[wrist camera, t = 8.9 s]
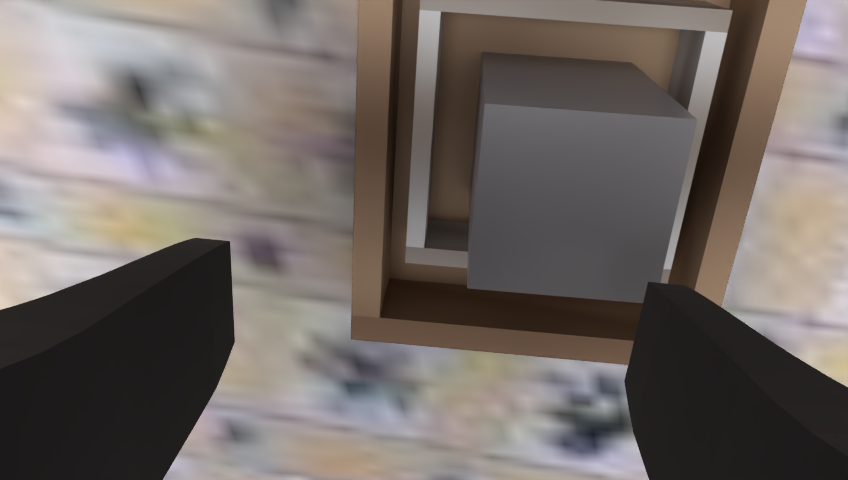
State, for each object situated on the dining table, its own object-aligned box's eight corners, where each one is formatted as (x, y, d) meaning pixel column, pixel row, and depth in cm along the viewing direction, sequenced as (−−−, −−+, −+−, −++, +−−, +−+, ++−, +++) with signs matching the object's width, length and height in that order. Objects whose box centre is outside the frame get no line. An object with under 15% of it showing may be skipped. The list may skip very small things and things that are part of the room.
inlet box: (674, 317, 22) (702, 371, 19) (366, 289, 22) (350, 339, 20) (778, -98, 17) (835, -103, 14) (379, -125, 18) (361, -135, 15)
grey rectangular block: (606, 201, 20) (655, 304, 15) (469, 190, 20) (466, 288, 15) (631, 62, 18) (697, 119, 13) (482, 51, 19) (485, 103, 13)
